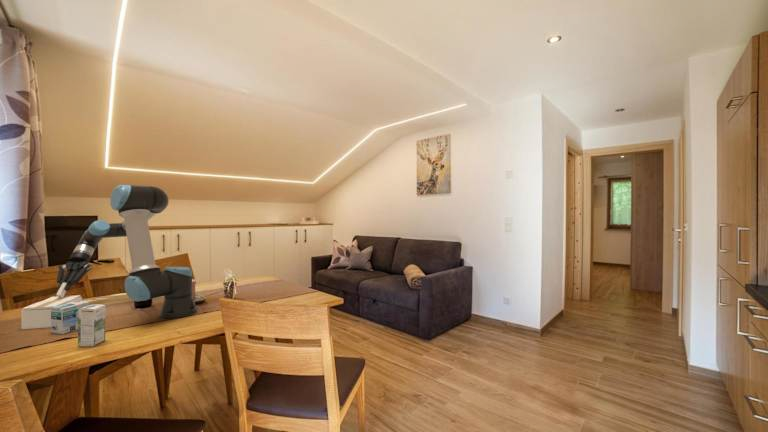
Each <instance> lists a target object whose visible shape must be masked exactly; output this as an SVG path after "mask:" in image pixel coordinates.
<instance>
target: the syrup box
mask: <svg viewBox="0 0 768 432" xmlns="http://www.w3.org/2000/svg"><path fill="white" fill-rule="evenodd" d="M106 311H107V309H106V304H100V303H99V304H97V303H95V304H94V303H93V304H90V305H89V306H86V307H83V308H81V309H79V310H78V333H77V334H78V335H77V347H95V346H97V345H99V344H101V343H103V342H104V341H106V320H107V319H106V317H107V316H106V314H107V313H106Z"/></svg>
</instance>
